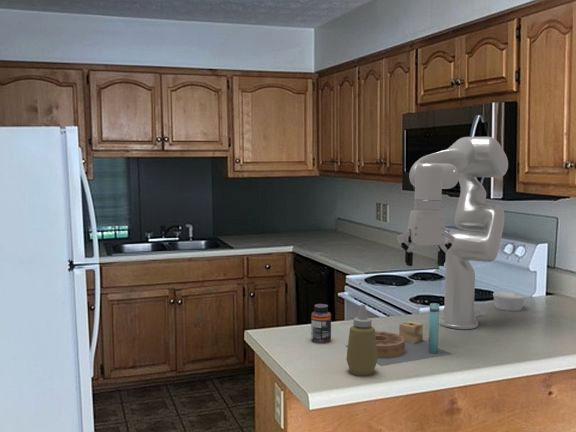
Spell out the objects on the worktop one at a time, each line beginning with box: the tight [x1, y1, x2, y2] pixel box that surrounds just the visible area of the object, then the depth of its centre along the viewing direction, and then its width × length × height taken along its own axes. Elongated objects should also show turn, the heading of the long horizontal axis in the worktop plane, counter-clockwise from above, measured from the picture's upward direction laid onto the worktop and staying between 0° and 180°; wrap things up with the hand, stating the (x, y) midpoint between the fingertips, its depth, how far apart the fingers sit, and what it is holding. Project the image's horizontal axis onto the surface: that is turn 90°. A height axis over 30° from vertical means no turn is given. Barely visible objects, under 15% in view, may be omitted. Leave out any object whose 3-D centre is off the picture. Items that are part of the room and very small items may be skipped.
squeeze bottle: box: [345, 304, 377, 376], centre depth 161 cm, size 8×8×18 cm
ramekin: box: [492, 290, 526, 312], centre depth 230 cm, size 11×11×5 cm
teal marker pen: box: [428, 302, 440, 354], centre depth 177 cm, size 3×3×14 cm
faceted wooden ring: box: [375, 330, 405, 358], centre depth 179 cm, size 14×14×4 cm
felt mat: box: [345, 340, 452, 367], centre depth 179 cm, size 24×19×1 cm
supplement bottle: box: [310, 303, 332, 345], centre depth 187 cm, size 6×6×11 cm
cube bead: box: [398, 320, 424, 344], centre depth 188 cm, size 5×5×5 cm
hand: (425, 265), depth 179 cm, fingers open, 9 cm apart
